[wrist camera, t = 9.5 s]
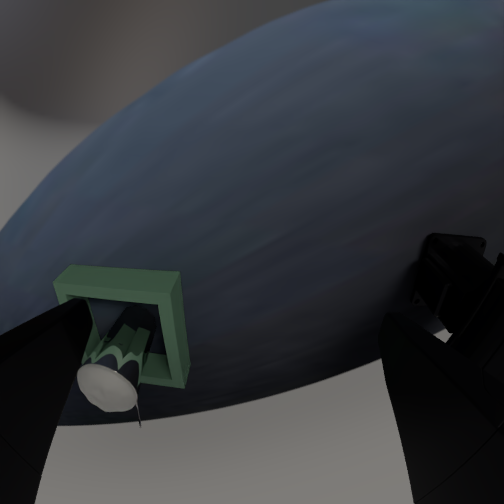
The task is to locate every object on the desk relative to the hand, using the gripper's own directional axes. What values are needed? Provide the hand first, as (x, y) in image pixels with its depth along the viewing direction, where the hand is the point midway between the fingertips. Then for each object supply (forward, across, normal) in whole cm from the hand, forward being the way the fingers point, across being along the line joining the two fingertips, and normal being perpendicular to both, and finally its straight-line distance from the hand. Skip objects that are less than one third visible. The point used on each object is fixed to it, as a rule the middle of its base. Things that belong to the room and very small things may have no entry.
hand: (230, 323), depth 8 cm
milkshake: (+13, +9, +11) cm, 19 cm away
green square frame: (+13, +10, +11) cm, 20 cm away
